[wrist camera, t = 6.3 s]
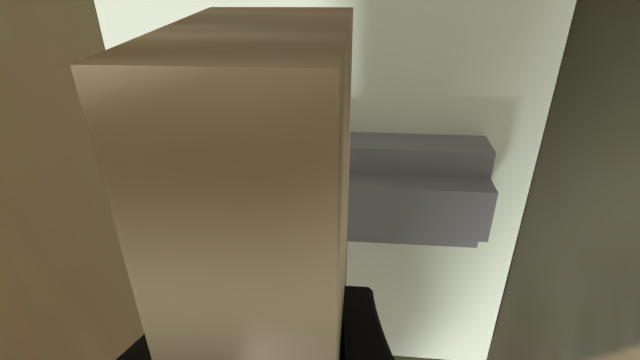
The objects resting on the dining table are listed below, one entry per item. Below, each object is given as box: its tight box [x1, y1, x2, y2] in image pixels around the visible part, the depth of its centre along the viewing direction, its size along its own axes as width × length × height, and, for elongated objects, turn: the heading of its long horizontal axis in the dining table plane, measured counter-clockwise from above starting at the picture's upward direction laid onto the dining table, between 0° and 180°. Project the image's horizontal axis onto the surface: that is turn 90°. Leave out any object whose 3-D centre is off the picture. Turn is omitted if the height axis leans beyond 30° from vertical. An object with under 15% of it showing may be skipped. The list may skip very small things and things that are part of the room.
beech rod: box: [70, 7, 353, 360], centre depth 10 cm, size 14×3×5 cm, turn 1°
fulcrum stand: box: [94, 0, 577, 360], centre depth 17 cm, size 20×16×4 cm
